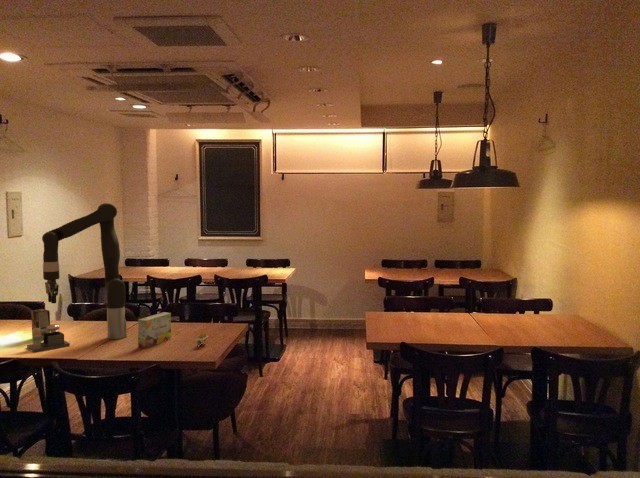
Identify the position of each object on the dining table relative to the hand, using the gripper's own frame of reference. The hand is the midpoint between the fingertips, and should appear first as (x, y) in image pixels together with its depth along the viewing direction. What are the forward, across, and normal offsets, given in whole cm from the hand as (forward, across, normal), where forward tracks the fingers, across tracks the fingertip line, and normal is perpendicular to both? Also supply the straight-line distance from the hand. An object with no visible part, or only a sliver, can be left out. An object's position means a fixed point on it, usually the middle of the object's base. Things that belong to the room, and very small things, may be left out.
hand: (52, 302), depth 270 cm
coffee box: (+23, +20, 0) cm, 31 cm away
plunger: (+16, 0, +3) cm, 16 cm away
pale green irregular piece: (+24, -54, -56) cm, 82 cm away
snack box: (+24, -32, -41) cm, 57 cm away
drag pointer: (+16, 0, +7) cm, 17 cm away
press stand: (+23, 0, +3) cm, 23 cm away
